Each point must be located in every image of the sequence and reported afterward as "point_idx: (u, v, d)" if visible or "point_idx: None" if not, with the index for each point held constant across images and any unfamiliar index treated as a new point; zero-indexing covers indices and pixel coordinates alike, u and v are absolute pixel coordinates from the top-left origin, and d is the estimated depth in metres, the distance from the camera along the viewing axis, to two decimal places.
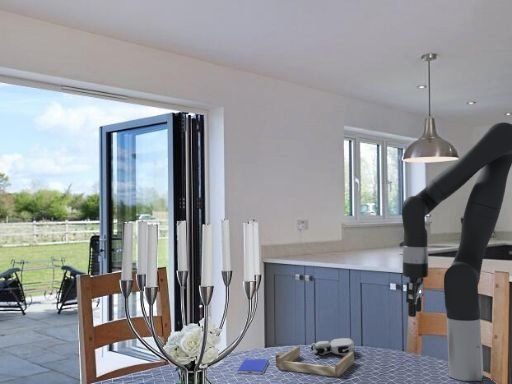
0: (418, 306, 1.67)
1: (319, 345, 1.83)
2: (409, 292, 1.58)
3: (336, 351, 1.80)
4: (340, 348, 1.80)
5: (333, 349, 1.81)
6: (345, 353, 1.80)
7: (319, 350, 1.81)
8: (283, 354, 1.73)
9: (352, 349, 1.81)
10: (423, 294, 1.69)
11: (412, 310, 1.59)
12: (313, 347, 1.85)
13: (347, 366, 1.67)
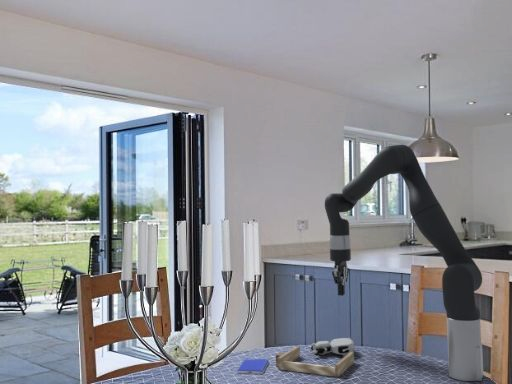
0: None
1: (319, 345, 1.83)
2: (335, 278, 1.92)
3: (336, 351, 1.80)
4: (340, 348, 1.80)
5: (333, 349, 1.82)
6: (345, 353, 1.80)
7: (319, 350, 1.81)
8: (283, 354, 1.73)
9: (352, 349, 1.81)
10: (346, 280, 1.97)
11: (340, 290, 1.94)
12: (313, 347, 1.85)
13: (347, 366, 1.67)
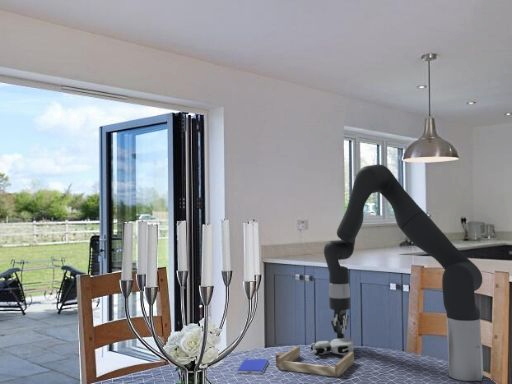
0: None
1: (319, 345, 1.83)
2: (335, 327, 1.89)
3: (336, 351, 1.80)
4: (340, 348, 1.80)
5: (333, 349, 1.81)
6: (345, 353, 1.80)
7: (319, 350, 1.81)
8: (283, 354, 1.73)
9: (352, 349, 1.81)
10: (346, 328, 1.95)
11: None
12: (313, 347, 1.85)
13: (347, 366, 1.67)
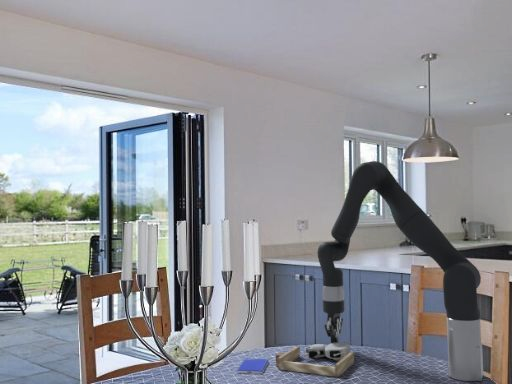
0: None
1: (313, 348, 1.80)
2: (328, 331, 1.83)
3: (328, 355, 1.75)
4: (331, 352, 1.74)
5: (326, 353, 1.77)
6: (337, 358, 1.75)
7: (311, 353, 1.77)
8: (283, 354, 1.73)
9: (345, 354, 1.75)
10: (340, 332, 1.89)
11: None
12: (307, 350, 1.81)
13: (347, 366, 1.67)
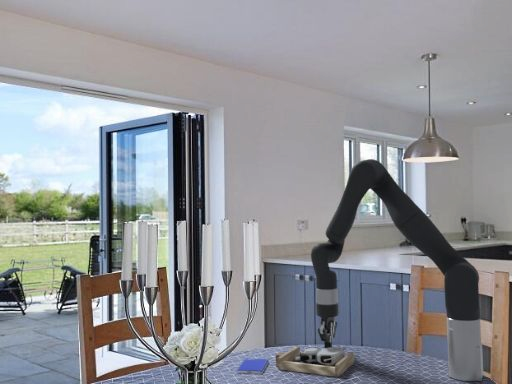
0: None
1: (305, 352, 1.75)
2: (322, 336, 1.78)
3: (319, 360, 1.70)
4: (322, 357, 1.69)
5: (317, 358, 1.71)
6: (328, 363, 1.69)
7: (302, 357, 1.72)
8: (283, 354, 1.73)
9: (336, 360, 1.68)
10: (334, 336, 1.83)
11: (327, 347, 1.80)
12: (301, 353, 1.77)
13: (347, 366, 1.67)
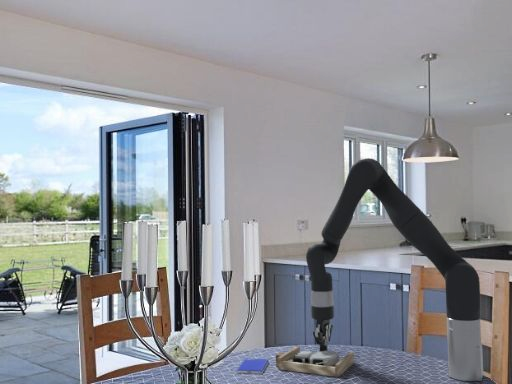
0: None
1: (299, 355, 1.71)
2: (317, 339, 1.74)
3: None
4: (314, 361, 1.65)
5: (310, 361, 1.68)
6: None
7: (295, 360, 1.69)
8: (283, 354, 1.73)
9: (328, 364, 1.64)
10: (329, 339, 1.79)
11: None
12: (294, 356, 1.73)
13: (347, 366, 1.67)
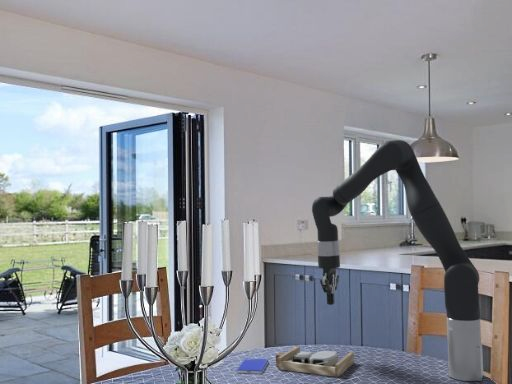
0: None
1: (298, 355, 1.71)
2: (324, 286, 1.81)
3: None
4: (314, 361, 1.65)
5: (310, 361, 1.68)
6: None
7: (294, 361, 1.69)
8: (283, 354, 1.73)
9: (328, 364, 1.64)
10: (336, 288, 1.87)
11: (329, 299, 1.84)
12: (294, 357, 1.73)
13: (347, 366, 1.67)
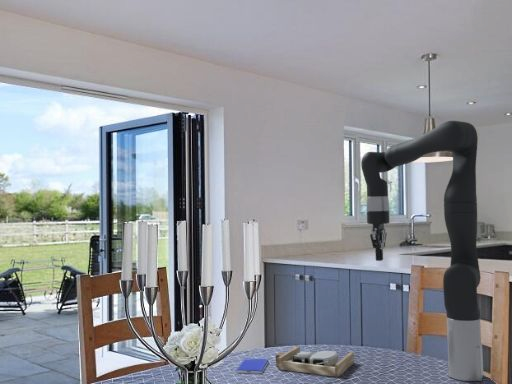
0: None
1: (298, 355, 1.71)
2: (374, 242, 1.79)
3: None
4: (314, 361, 1.65)
5: (310, 361, 1.68)
6: None
7: (294, 361, 1.69)
8: (283, 354, 1.73)
9: (329, 364, 1.65)
10: (384, 245, 1.85)
11: (379, 254, 1.82)
12: (294, 357, 1.73)
13: (347, 366, 1.67)
